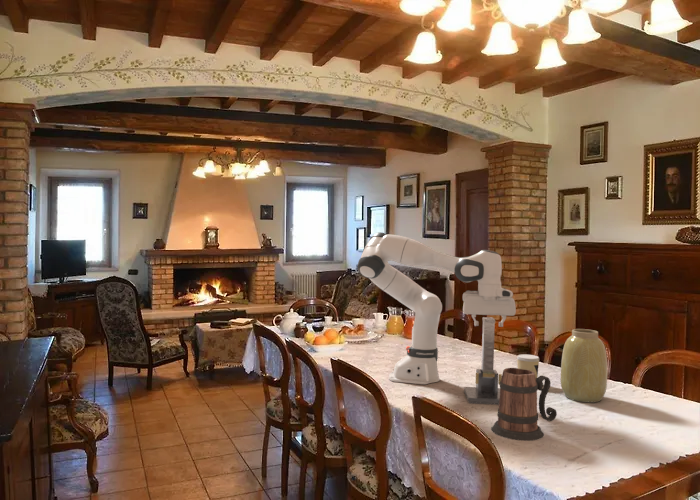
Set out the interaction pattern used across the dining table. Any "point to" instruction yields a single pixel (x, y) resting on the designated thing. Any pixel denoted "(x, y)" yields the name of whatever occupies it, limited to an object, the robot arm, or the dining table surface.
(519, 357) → the coffee cup
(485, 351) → the column
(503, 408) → the tankard
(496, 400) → the stand base
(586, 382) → the vase
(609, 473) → the dining table surface
